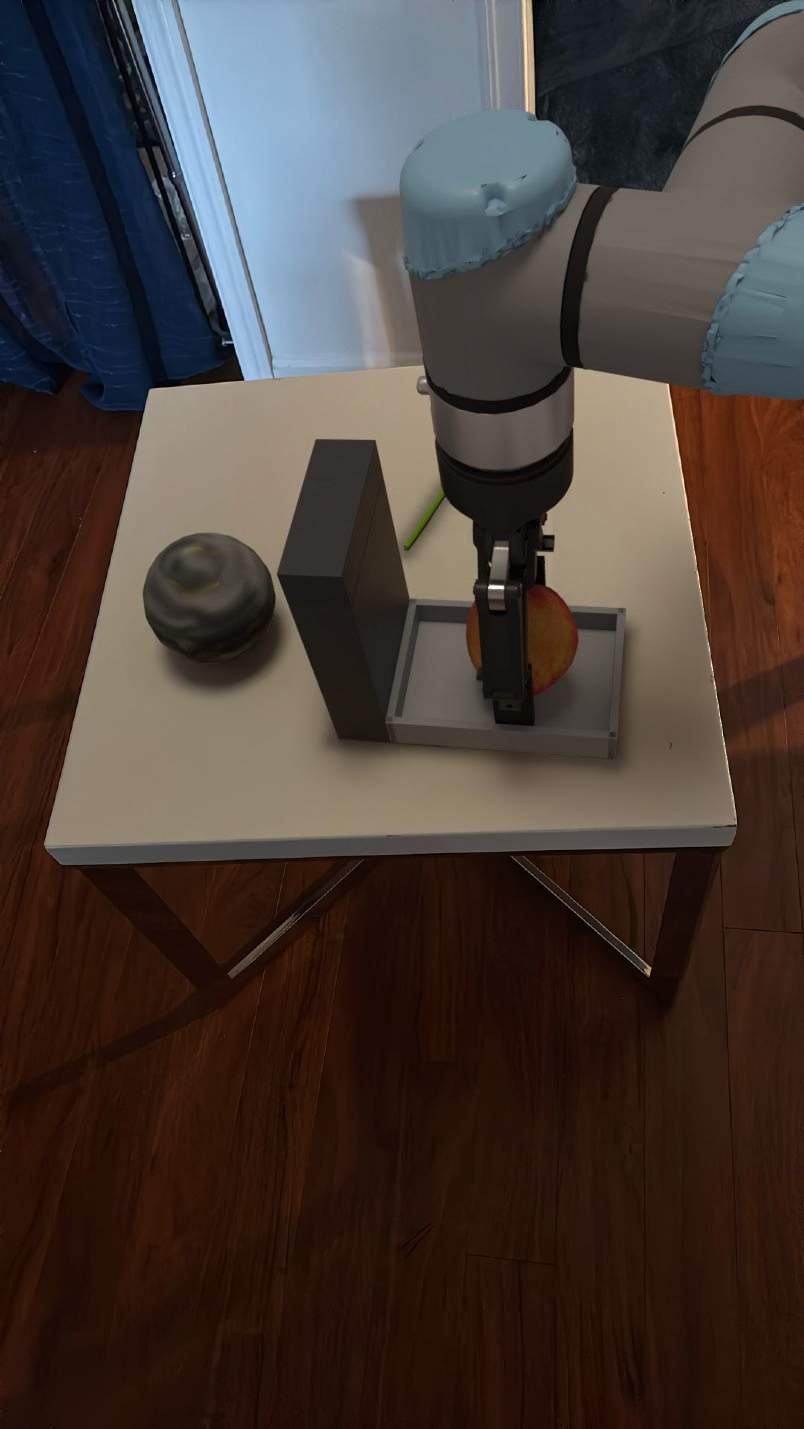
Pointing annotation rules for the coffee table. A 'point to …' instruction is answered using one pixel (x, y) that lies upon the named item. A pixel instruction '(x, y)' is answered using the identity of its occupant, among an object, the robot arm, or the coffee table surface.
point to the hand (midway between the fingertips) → (521, 666)
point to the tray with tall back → (419, 631)
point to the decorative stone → (209, 598)
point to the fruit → (538, 637)
